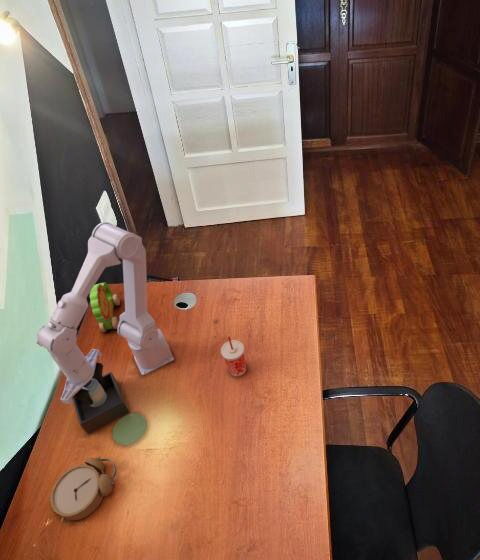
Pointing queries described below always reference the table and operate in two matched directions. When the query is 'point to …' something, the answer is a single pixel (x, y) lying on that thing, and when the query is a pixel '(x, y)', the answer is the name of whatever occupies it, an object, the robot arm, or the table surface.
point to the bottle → (95, 392)
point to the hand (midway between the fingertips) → (94, 394)
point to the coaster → (129, 429)
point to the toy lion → (104, 306)
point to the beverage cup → (234, 357)
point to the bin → (102, 407)
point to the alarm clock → (81, 489)
